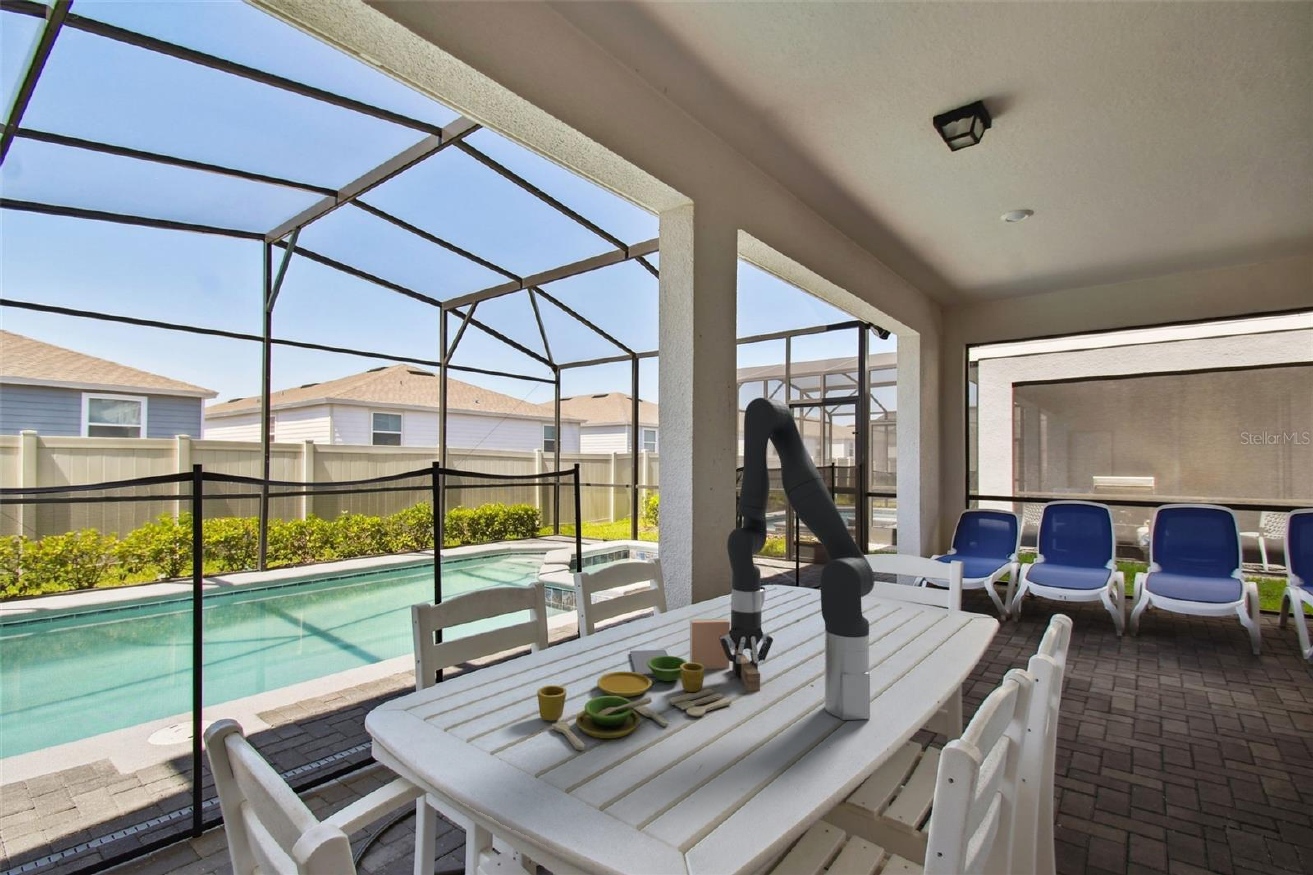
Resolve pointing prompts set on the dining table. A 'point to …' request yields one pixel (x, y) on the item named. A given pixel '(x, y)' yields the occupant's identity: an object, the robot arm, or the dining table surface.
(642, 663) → the rubber mat
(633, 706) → the tableware set
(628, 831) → the dining table surface
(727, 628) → the terracotta tile
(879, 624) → the dining table surface
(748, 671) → the walnut stick
